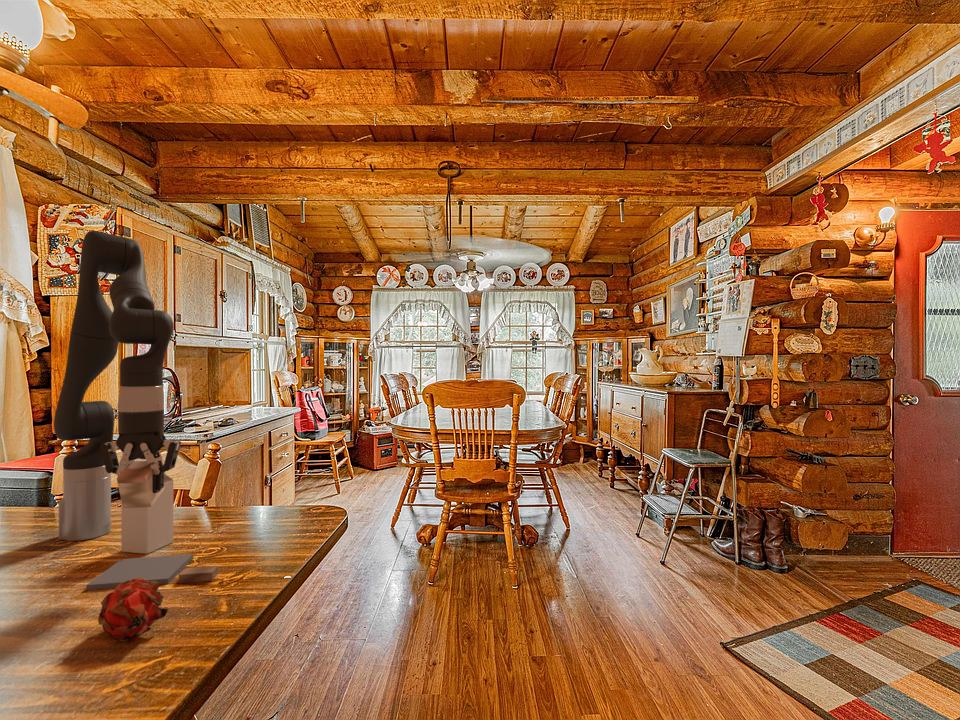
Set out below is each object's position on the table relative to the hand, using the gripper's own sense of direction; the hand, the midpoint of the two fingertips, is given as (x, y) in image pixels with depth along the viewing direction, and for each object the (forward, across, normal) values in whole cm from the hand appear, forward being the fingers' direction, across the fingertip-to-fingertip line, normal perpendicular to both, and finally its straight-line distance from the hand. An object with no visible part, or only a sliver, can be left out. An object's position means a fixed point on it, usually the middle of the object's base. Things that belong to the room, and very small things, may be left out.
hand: (141, 492), depth 95 cm
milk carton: (+17, +6, -16) cm, 25 cm away
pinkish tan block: (+3, 0, 0) cm, 3 cm away
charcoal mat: (+17, 0, -1) cm, 17 cm away
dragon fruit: (+17, -9, +22) cm, 29 cm away
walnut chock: (+17, -12, +4) cm, 21 cm away
